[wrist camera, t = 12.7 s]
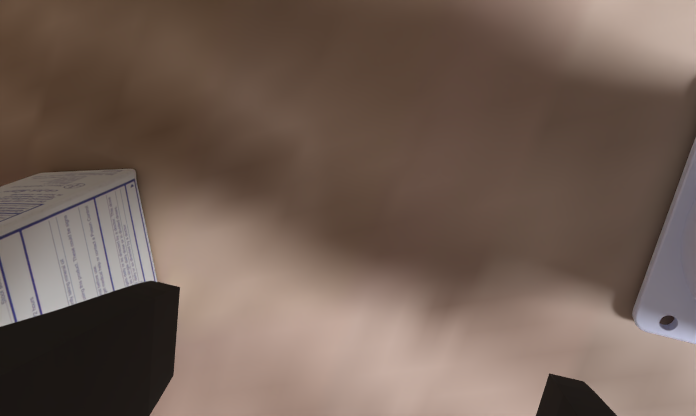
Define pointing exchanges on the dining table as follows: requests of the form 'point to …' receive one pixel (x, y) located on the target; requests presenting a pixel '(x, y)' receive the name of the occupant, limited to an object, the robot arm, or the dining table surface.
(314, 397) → the dining table surface
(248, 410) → the dining table surface
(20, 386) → the robot arm
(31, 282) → the medicine box
